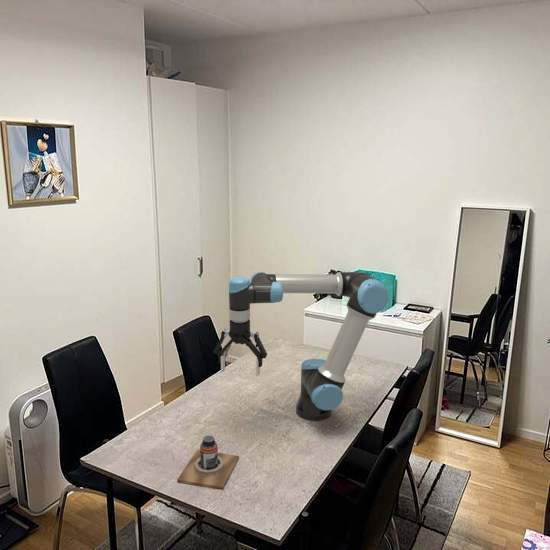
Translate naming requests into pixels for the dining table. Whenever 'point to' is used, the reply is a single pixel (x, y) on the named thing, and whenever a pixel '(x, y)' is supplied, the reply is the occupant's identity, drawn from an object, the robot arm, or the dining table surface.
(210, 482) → the ring board
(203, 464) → the supplement bottle
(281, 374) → the dining table surface
